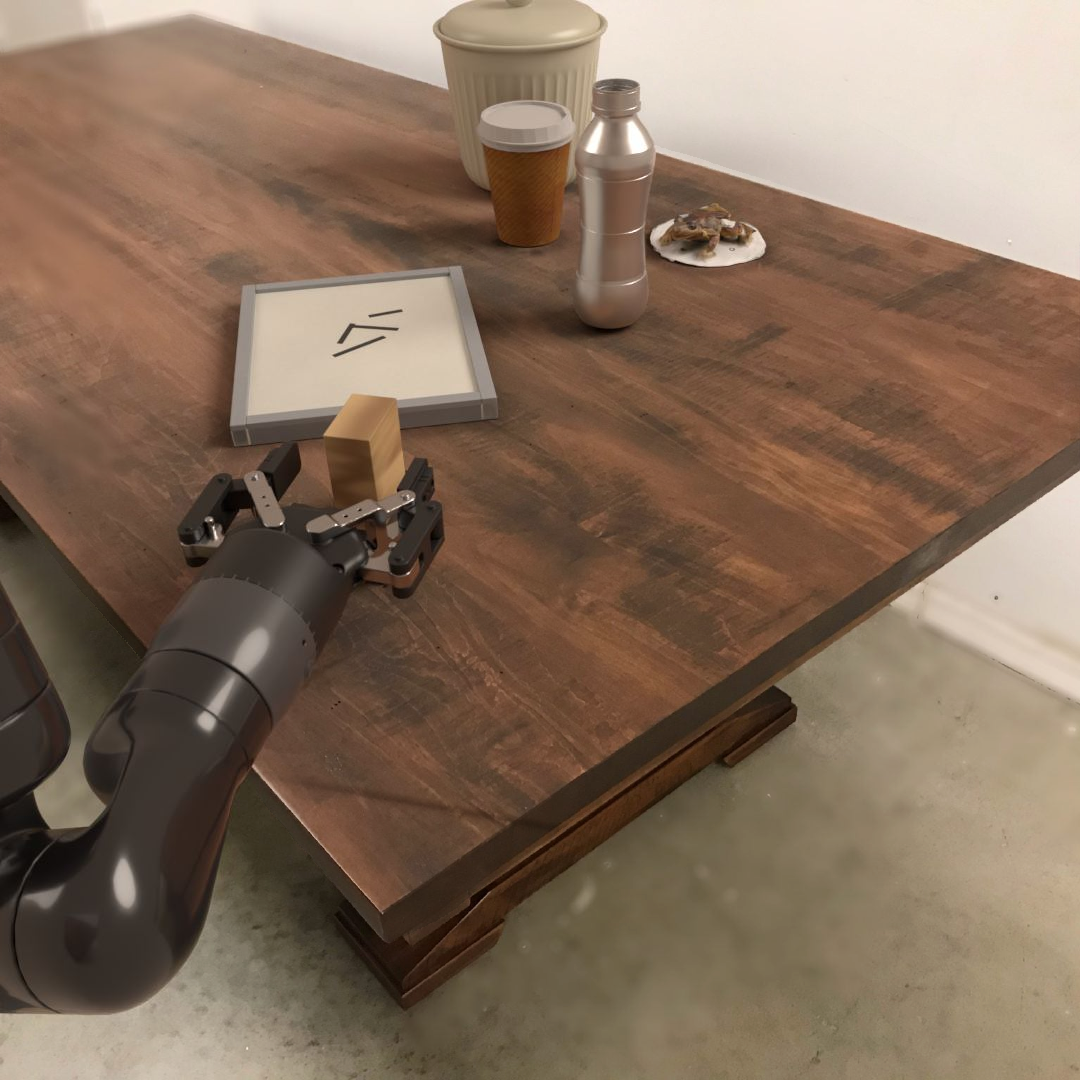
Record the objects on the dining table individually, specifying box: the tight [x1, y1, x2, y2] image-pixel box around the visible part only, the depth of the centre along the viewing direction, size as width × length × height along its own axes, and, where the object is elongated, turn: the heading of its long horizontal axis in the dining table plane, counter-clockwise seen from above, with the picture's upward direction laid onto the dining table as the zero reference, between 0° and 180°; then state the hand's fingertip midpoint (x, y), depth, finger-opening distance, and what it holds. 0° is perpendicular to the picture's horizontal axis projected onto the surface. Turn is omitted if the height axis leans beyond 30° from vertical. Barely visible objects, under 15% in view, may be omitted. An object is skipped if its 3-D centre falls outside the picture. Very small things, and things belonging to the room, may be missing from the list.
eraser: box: [322, 394, 408, 585], centre depth 71 cm, size 4×9×10 cm, turn 167°
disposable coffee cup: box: [476, 100, 576, 248], centre depth 108 cm, size 10×10×12 cm
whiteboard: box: [229, 265, 499, 447], centre depth 92 cm, size 20×24×2 cm
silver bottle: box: [571, 77, 657, 329], centre depth 91 cm, size 6×7×20 cm
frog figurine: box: [649, 203, 767, 268], centre depth 108 cm, size 12×12×4 cm
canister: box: [432, 0, 609, 192], centre depth 117 cm, size 18×18×21 cm
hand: (357, 461), depth 68 cm, fingers open, 8 cm apart
